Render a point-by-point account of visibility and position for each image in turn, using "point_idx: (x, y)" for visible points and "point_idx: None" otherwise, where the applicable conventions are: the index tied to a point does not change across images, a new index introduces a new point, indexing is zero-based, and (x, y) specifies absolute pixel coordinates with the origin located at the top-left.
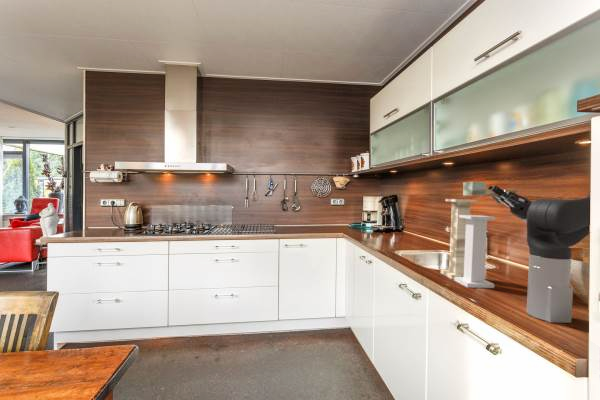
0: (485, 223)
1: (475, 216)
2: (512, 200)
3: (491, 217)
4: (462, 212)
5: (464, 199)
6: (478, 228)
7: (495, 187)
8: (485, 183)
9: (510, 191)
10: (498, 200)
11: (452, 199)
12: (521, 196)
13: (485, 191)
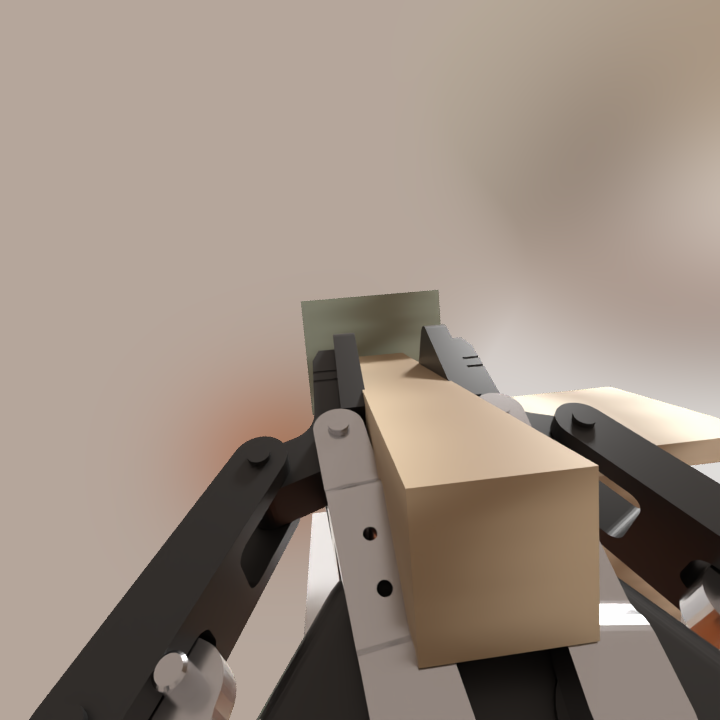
0: None
1: (320, 530)
2: (244, 602)
3: (306, 610)
4: None
5: (620, 420)
6: None
7: (334, 353)
8: (302, 313)
9: (384, 465)
10: (663, 585)
11: (523, 397)
12: (104, 626)
13: (309, 380)
